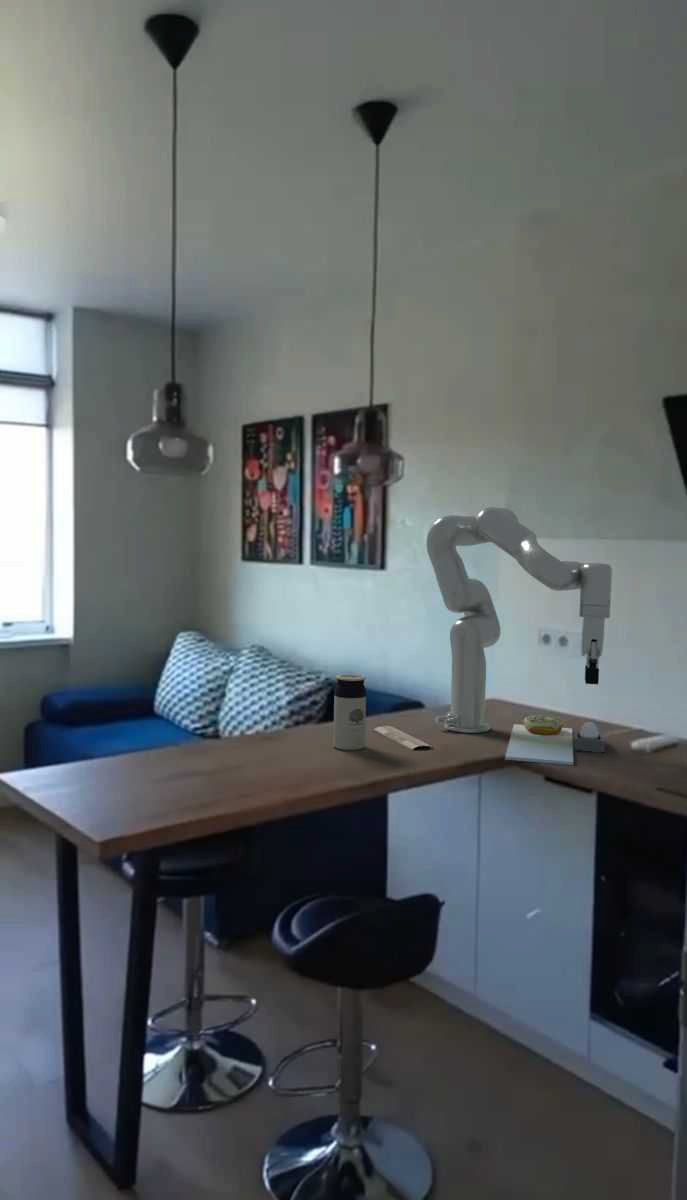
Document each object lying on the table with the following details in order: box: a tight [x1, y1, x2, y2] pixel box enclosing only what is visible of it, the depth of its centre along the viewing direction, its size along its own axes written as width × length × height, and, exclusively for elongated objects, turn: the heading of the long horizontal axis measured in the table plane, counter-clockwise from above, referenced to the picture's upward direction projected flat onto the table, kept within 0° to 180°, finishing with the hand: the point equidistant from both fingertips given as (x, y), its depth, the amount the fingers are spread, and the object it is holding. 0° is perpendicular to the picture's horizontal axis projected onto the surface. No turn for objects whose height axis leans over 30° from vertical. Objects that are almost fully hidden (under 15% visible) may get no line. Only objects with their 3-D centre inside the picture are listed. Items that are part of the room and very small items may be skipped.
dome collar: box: [572, 732, 606, 753], centre depth 231 cm, size 8×8×3 cm
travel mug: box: [332, 673, 367, 751], centre depth 225 cm, size 8×8×18 cm
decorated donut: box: [523, 714, 564, 735], centre depth 246 cm, size 10×11×4 cm
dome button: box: [579, 721, 600, 740], centre depth 231 cm, size 5×5×4 cm
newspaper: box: [373, 725, 435, 751], centre depth 236 cm, size 24×7×2 cm, turn 22°
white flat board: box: [504, 723, 574, 766], centre depth 234 cm, size 39×16×1 cm, turn 166°
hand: (591, 681), depth 230 cm, fingers open, 4 cm apart
